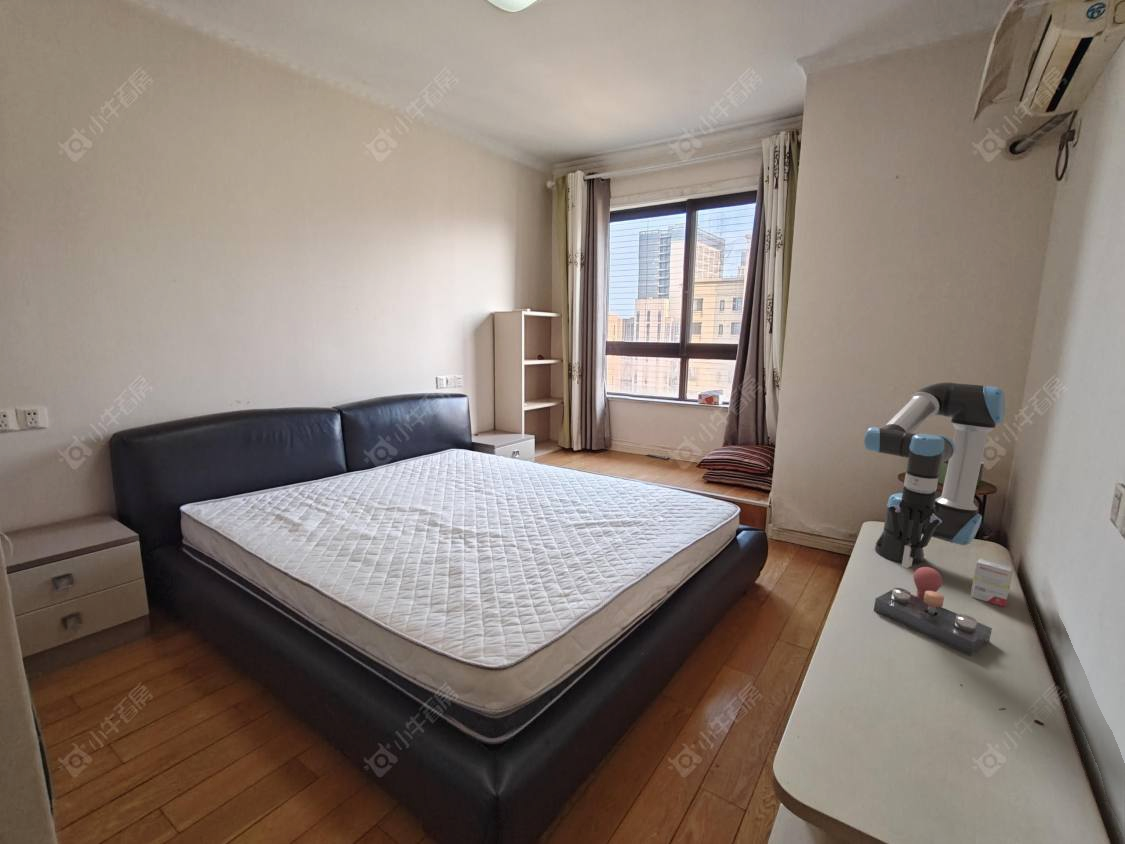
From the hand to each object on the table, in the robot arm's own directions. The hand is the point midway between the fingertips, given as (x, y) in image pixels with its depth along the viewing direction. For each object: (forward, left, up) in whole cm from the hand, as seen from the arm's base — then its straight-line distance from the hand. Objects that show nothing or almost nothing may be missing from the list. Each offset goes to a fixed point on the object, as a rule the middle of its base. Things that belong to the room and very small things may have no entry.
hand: (906, 565), depth 148 cm
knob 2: (0, +8, -11) cm, 14 cm away
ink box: (-33, +11, -15) cm, 37 cm away
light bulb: (-11, +2, -15) cm, 18 cm away
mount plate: (0, +8, -15) cm, 17 cm away
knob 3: (0, +16, -14) cm, 21 cm away
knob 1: (0, 0, -14) cm, 14 cm away
